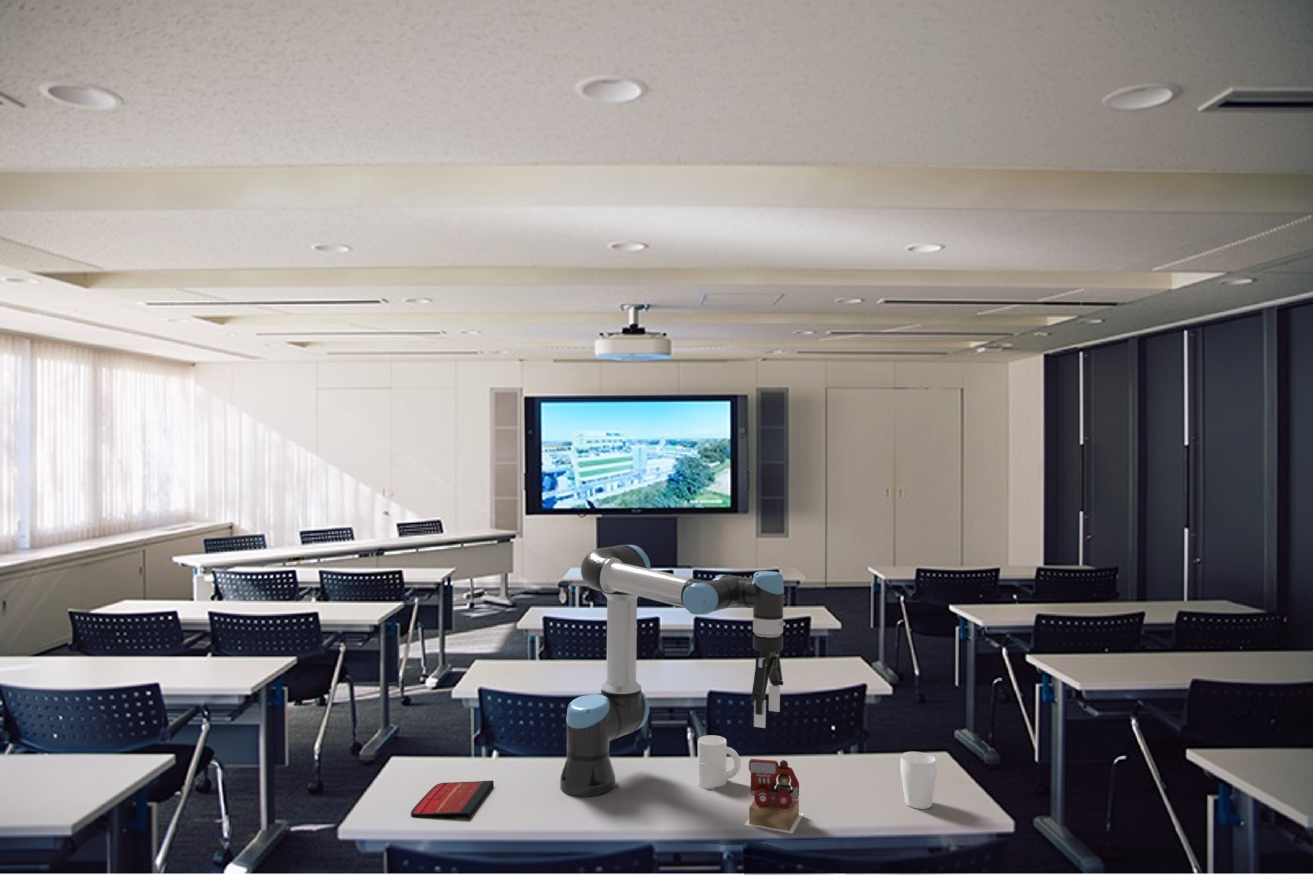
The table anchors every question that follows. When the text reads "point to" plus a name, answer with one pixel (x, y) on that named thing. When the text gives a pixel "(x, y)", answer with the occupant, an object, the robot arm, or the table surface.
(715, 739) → the mug
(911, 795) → the cup
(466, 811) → the binder
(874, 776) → the table surface
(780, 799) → the toy fire truck
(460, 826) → the table surface
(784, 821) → the base block
